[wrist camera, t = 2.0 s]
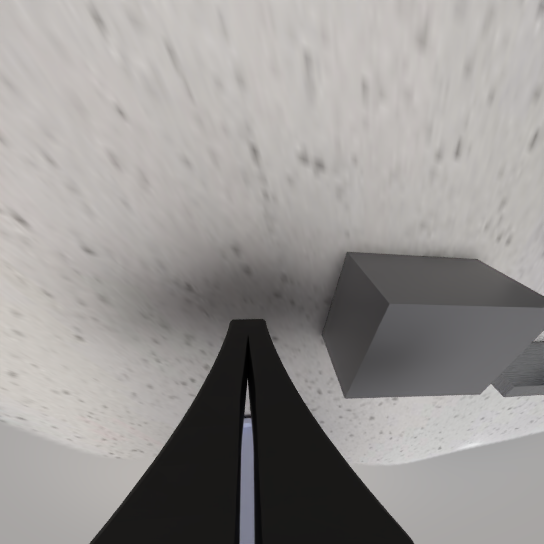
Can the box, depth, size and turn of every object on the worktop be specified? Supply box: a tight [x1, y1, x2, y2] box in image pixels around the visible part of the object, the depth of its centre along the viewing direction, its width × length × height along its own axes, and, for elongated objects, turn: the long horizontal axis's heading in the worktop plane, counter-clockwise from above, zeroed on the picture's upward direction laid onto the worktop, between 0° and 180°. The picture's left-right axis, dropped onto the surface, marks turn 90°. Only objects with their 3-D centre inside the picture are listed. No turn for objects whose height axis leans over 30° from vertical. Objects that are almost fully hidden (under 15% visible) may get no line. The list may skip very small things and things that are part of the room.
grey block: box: [322, 252, 544, 398], centre depth 11 cm, size 6×7×4 cm
